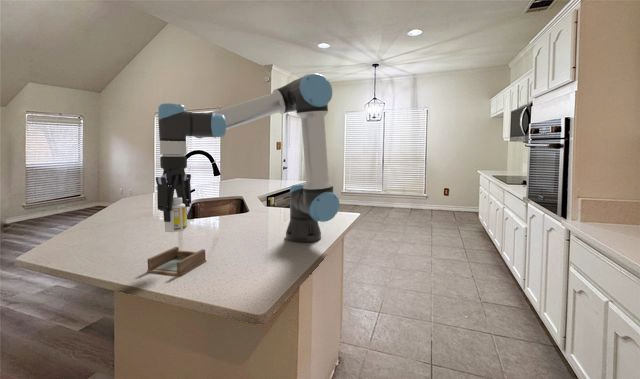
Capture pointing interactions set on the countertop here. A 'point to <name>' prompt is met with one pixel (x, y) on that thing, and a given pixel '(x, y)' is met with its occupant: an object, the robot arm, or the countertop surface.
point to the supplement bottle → (179, 214)
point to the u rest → (176, 261)
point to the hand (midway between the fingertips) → (176, 229)
